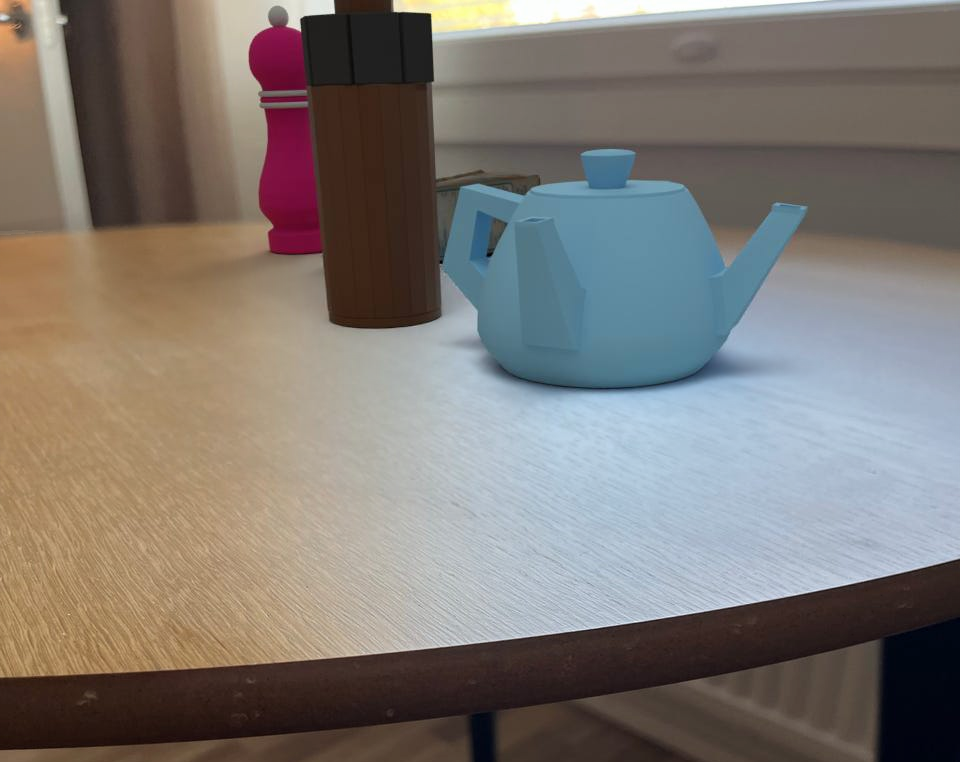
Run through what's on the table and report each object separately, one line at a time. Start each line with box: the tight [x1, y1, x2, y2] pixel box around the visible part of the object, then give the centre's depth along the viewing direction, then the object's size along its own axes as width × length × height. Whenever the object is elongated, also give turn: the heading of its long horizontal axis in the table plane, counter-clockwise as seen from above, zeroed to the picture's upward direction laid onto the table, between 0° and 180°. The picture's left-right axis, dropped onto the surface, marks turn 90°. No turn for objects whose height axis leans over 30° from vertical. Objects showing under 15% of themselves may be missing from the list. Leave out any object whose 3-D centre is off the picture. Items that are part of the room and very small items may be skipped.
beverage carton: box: [436, 169, 541, 262], centre depth 91 cm, size 8×19×7 cm, turn 125°
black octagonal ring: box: [299, 11, 435, 86], centre depth 63 cm, size 8×8×4 cm
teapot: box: [441, 148, 809, 389], centre depth 55 cm, size 15×15×11 cm
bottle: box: [306, 0, 442, 329], centre depth 66 cm, size 8×8×19 cm
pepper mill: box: [248, 5, 322, 255], centre depth 94 cm, size 7×7×20 cm
